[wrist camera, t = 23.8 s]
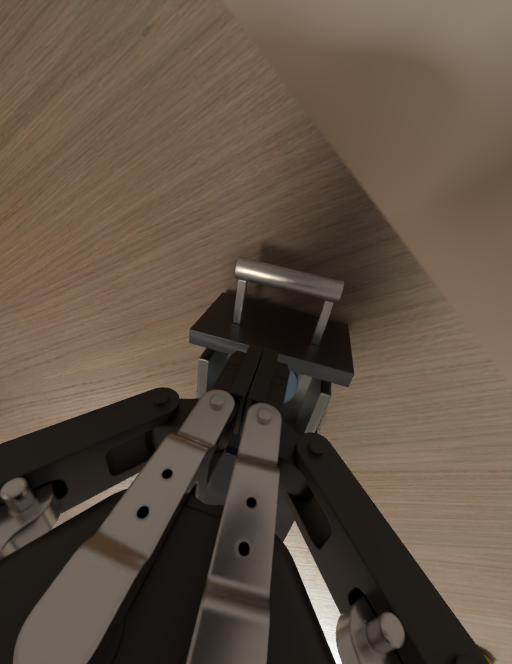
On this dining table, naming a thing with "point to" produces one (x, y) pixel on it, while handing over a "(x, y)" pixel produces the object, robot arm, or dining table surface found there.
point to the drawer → (279, 339)
